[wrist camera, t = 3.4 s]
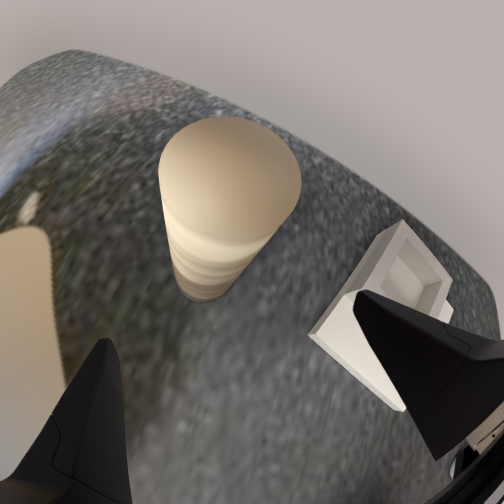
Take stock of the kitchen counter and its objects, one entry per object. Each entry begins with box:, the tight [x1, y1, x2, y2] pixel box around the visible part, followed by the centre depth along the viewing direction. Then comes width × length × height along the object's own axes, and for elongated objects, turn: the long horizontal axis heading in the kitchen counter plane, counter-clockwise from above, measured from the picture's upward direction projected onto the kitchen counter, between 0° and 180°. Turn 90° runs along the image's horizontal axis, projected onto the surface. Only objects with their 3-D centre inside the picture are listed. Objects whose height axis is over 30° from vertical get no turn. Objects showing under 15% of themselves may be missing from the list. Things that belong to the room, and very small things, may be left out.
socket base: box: [307, 219, 454, 412], centre depth 21 cm, size 12×12×4 cm
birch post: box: [159, 117, 301, 303], centre depth 14 cm, size 4×4×14 cm
